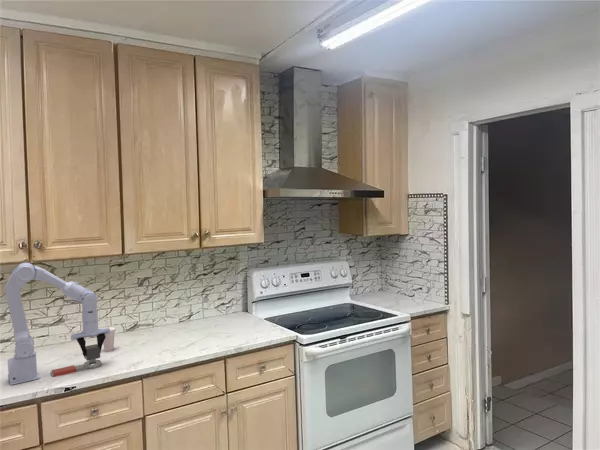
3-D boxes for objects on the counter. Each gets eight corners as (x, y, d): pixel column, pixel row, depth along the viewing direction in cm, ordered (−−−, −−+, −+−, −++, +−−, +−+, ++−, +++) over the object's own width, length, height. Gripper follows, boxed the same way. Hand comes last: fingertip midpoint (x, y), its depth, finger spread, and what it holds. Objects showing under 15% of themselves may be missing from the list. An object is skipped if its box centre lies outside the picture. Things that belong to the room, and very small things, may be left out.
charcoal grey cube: (87, 360, 185) (86, 349, 184) (84, 357, 189) (83, 346, 188) (100, 357, 188) (99, 346, 187) (97, 354, 192) (96, 344, 191)
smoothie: (99, 350, 209) (97, 319, 208) (113, 346, 213) (111, 316, 212) (104, 353, 204) (103, 322, 203) (119, 349, 208) (117, 319, 208)
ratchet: (52, 378, 177) (52, 367, 176) (49, 373, 182) (49, 363, 182) (102, 366, 188) (102, 356, 188) (98, 362, 193) (98, 352, 193)
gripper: (72, 326, 180) (74, 360, 180) (111, 319, 188) (113, 352, 189) (68, 322, 185) (70, 356, 186) (106, 316, 194) (108, 348, 195)
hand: (91, 354), depth 188 cm, fingers closed on charcoal grey cube, 5 cm apart
